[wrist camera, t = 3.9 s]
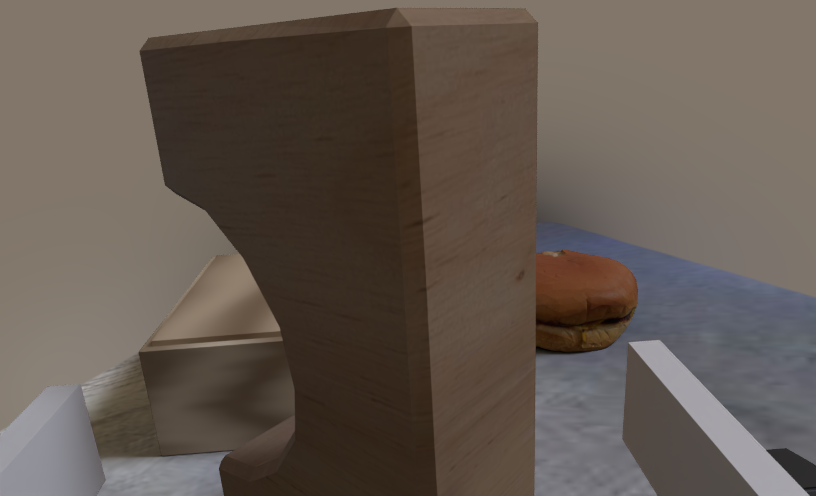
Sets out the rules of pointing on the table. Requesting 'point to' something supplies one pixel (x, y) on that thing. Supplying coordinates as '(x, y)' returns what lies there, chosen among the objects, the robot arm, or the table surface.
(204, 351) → the plinth
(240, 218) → the decorative block
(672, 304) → the table surface
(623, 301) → the burger
